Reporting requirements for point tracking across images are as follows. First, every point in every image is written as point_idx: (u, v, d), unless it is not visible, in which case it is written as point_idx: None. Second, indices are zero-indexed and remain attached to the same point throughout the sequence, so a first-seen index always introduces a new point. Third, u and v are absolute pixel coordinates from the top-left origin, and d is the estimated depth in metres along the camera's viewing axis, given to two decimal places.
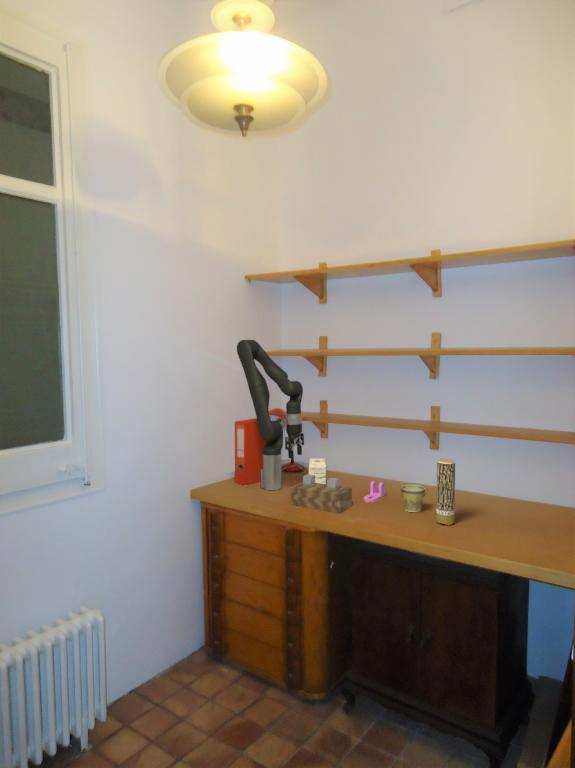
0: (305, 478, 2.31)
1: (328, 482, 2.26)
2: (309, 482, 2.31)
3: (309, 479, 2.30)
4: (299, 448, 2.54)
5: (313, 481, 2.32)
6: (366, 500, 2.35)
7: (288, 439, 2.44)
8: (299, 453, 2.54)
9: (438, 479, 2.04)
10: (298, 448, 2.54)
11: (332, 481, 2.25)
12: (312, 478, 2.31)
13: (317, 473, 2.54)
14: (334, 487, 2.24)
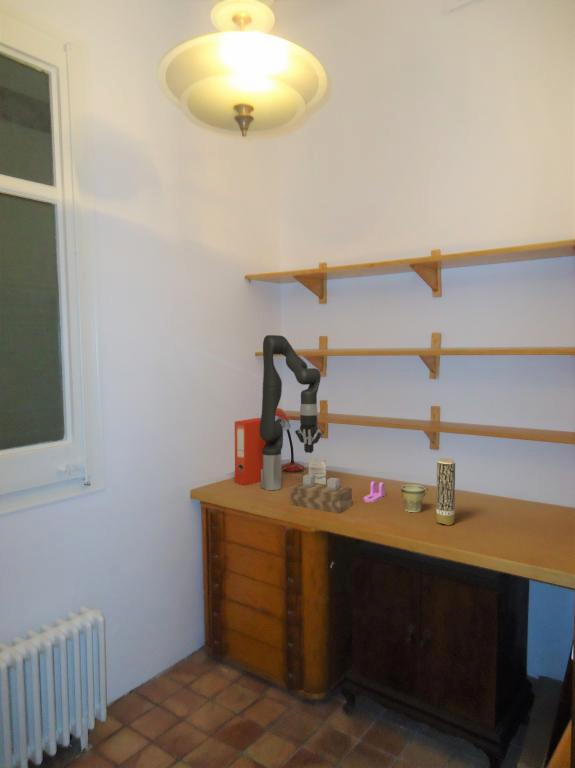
0: (305, 478, 2.31)
1: (328, 482, 2.26)
2: (309, 482, 2.31)
3: (309, 479, 2.30)
4: (308, 445, 2.32)
5: (313, 481, 2.32)
6: (366, 500, 2.35)
7: (321, 435, 2.29)
8: (307, 450, 2.32)
9: (438, 479, 2.04)
10: (307, 445, 2.32)
11: (332, 481, 2.25)
12: (312, 478, 2.31)
13: (317, 473, 2.54)
14: (334, 487, 2.24)
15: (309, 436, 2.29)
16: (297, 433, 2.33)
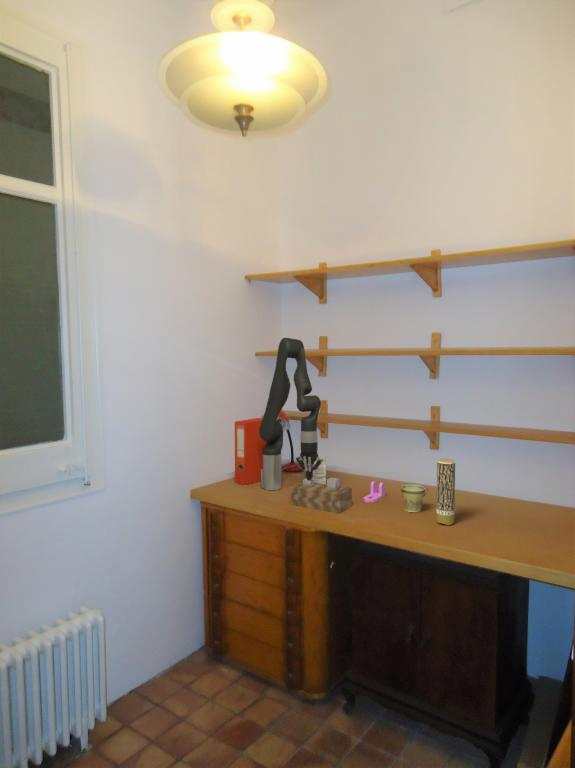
0: (305, 481, 2.31)
1: (328, 482, 2.26)
2: (309, 485, 2.31)
3: (309, 482, 2.31)
4: None
5: (313, 484, 2.32)
6: (366, 500, 2.35)
7: (321, 462, 2.30)
8: None
9: (438, 479, 2.04)
10: None
11: (332, 481, 2.25)
12: (312, 481, 2.31)
13: (317, 473, 2.54)
14: (334, 487, 2.24)
15: (309, 463, 2.30)
16: (298, 460, 2.34)
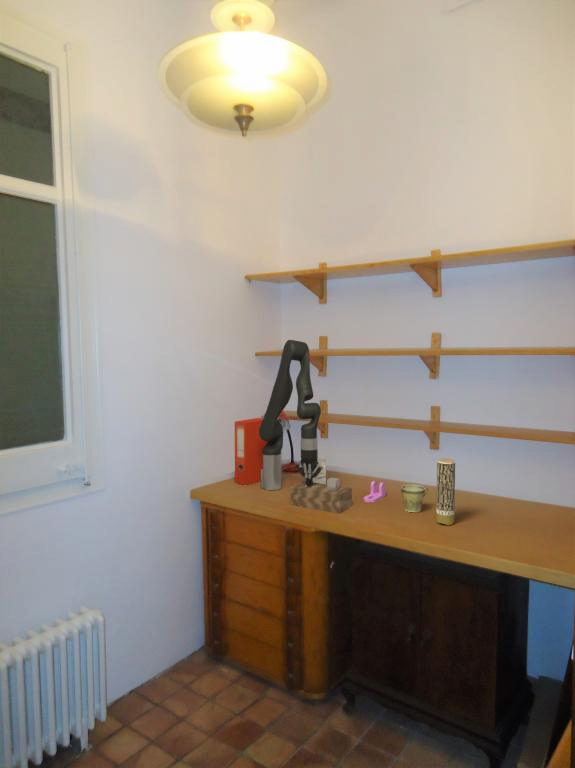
0: None
1: (328, 482, 2.26)
2: None
3: None
4: None
5: None
6: (366, 500, 2.35)
7: (321, 469, 2.30)
8: None
9: (438, 479, 2.04)
10: None
11: (332, 481, 2.25)
12: None
13: None
14: (334, 487, 2.24)
15: (309, 470, 2.31)
16: (298, 467, 2.34)
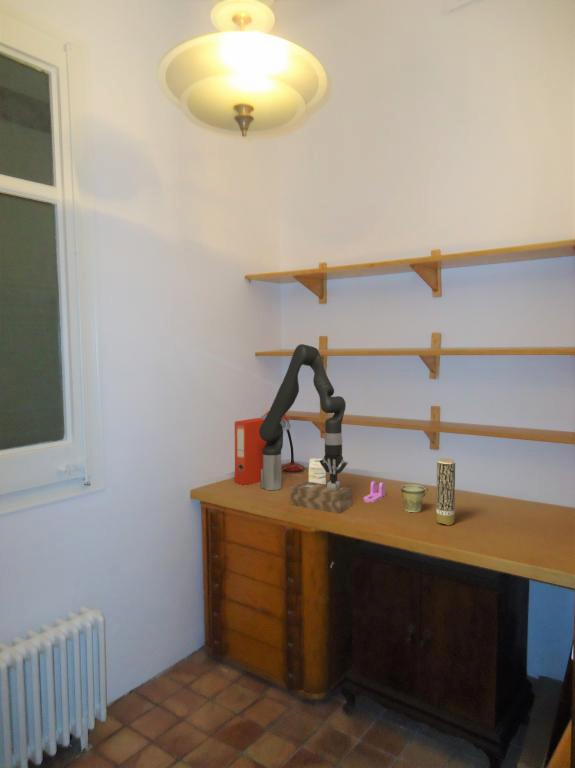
0: None
1: (328, 485, 2.26)
2: None
3: None
4: None
5: None
6: (366, 500, 2.35)
7: None
8: None
9: (438, 479, 2.04)
10: None
11: (332, 484, 2.25)
12: None
13: (317, 473, 2.54)
14: (334, 490, 2.24)
15: (333, 466, 2.24)
16: (322, 463, 2.28)
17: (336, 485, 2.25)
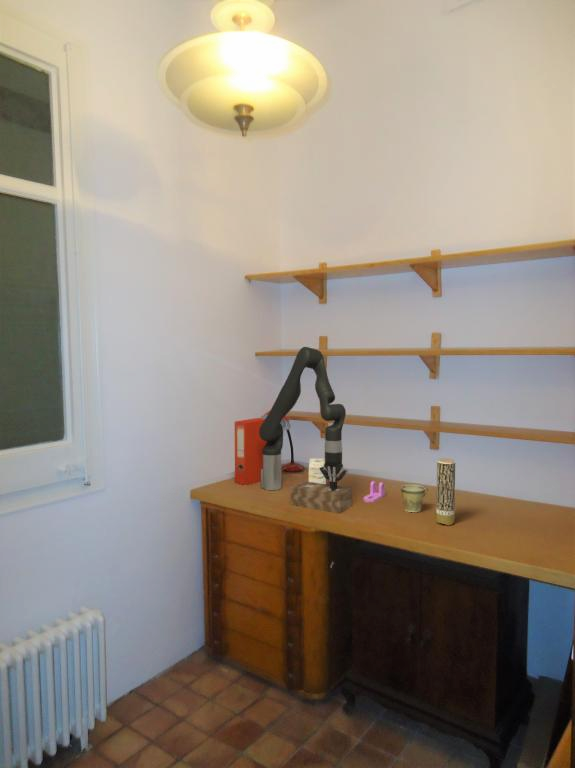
0: None
1: None
2: None
3: None
4: None
5: None
6: (366, 500, 2.35)
7: (346, 472, 2.24)
8: None
9: (438, 479, 2.04)
10: None
11: None
12: None
13: (317, 473, 2.54)
14: None
15: (333, 473, 2.24)
16: (322, 470, 2.28)
17: None
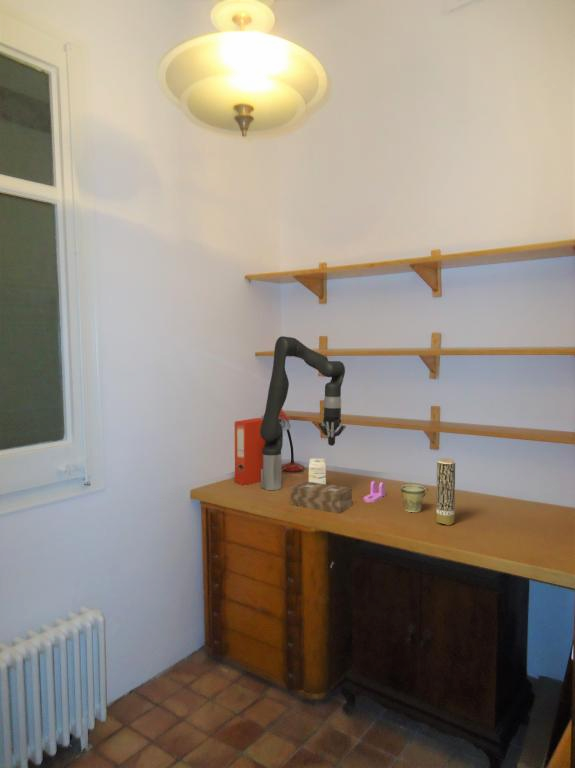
0: None
1: None
2: None
3: None
4: None
5: None
6: (366, 500, 2.35)
7: (344, 428, 2.29)
8: None
9: (438, 479, 2.04)
10: None
11: None
12: None
13: (317, 473, 2.54)
14: None
15: (332, 429, 2.29)
16: (320, 426, 2.33)
17: None
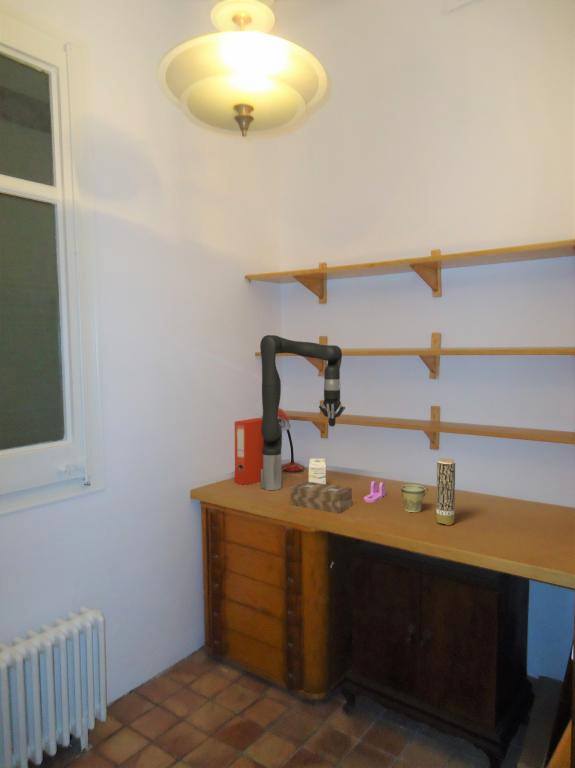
0: None
1: None
2: None
3: None
4: None
5: None
6: (366, 500, 2.35)
7: (343, 409, 2.39)
8: None
9: (438, 479, 2.04)
10: None
11: None
12: None
13: (317, 473, 2.54)
14: None
15: (332, 410, 2.39)
16: (321, 408, 2.43)
17: None
